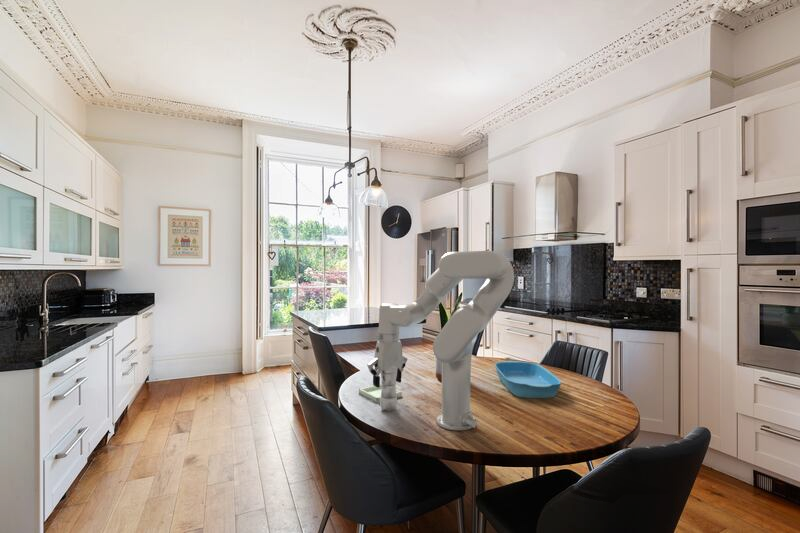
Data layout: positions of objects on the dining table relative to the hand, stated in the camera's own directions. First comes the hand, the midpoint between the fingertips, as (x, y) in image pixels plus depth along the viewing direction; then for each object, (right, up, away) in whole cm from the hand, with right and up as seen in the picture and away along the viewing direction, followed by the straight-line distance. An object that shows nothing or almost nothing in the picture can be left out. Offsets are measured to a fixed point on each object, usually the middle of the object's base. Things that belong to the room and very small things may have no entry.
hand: (387, 384), depth 139 cm
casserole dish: (+59, -10, +27) cm, 66 cm away
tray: (-3, -9, +15) cm, 17 cm away
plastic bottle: (0, -9, 0) cm, 9 cm away
